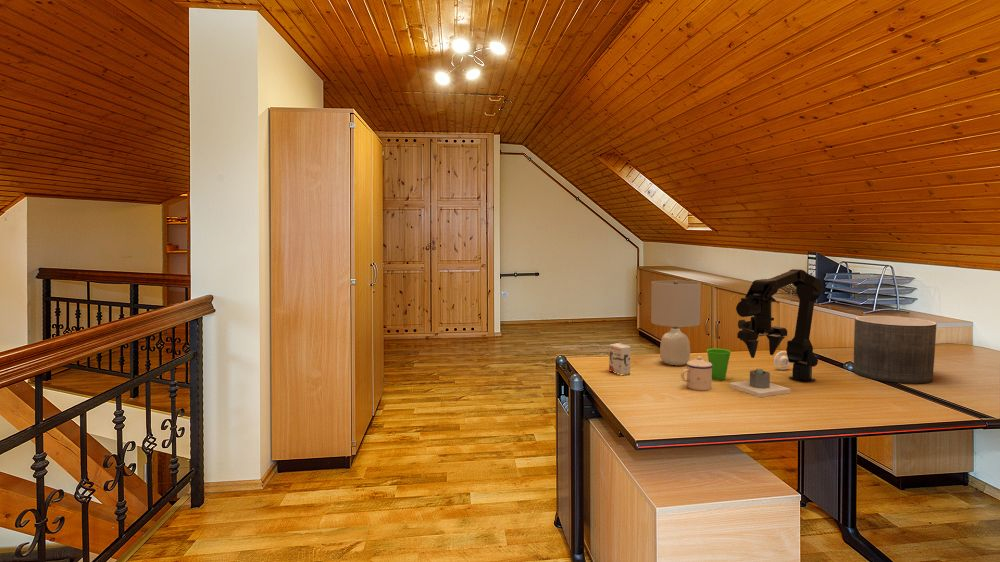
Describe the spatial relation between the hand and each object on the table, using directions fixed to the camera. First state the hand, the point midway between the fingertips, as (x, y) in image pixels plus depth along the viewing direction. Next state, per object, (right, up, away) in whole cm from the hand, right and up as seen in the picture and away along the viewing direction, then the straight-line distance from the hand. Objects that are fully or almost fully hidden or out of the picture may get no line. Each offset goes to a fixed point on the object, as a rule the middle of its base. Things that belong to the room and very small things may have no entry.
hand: (762, 356), depth 190 cm
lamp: (-19, -9, +38) cm, 44 cm away
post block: (-2, -12, -3) cm, 12 cm away
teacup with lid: (-24, -12, +1) cm, 27 cm away
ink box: (-47, -11, +24) cm, 54 cm away
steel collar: (-2, -10, -3) cm, 11 cm away
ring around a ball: (+21, -9, +26) cm, 35 cm away
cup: (-10, -11, +14) cm, 20 cm away
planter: (+58, -10, +14) cm, 61 cm away
